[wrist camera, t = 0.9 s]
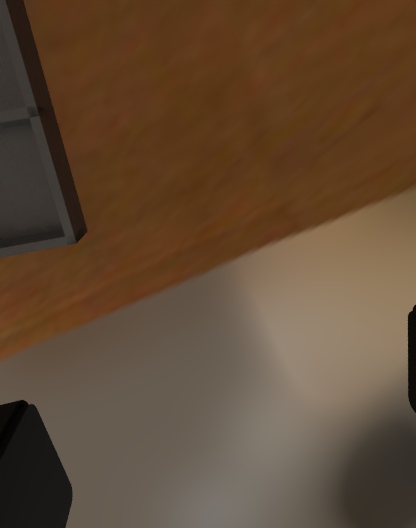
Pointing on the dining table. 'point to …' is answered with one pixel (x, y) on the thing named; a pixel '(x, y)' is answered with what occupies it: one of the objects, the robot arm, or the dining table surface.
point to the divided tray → (31, 149)
